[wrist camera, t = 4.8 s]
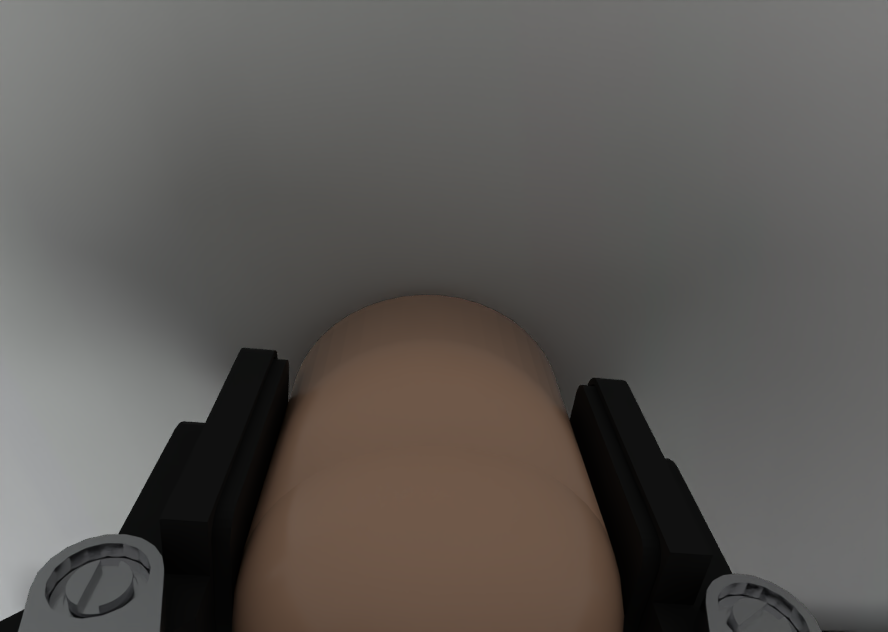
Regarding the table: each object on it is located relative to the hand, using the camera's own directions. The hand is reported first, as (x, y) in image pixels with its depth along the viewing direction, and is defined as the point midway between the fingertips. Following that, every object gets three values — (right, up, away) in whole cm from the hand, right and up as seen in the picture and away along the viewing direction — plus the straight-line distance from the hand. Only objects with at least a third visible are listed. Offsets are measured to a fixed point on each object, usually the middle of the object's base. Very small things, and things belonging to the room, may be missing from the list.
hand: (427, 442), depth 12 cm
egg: (0, 0, +1) cm, 1 cm away
